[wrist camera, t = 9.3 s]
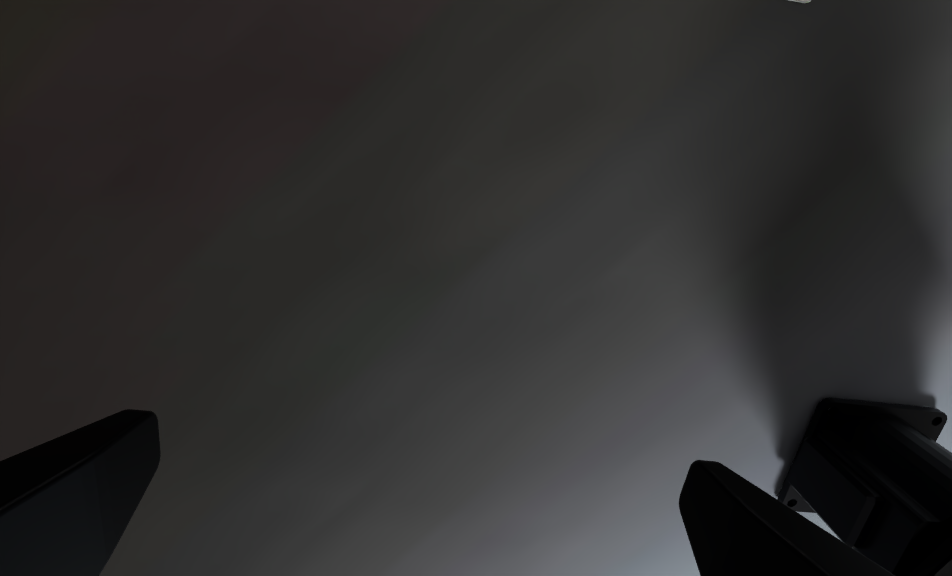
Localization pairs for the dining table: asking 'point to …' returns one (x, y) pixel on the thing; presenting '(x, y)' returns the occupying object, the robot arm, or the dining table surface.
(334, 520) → the dining table surface
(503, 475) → the dining table surface
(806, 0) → the white flat rectangular panel
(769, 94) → the dining table surface
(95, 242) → the dining table surface
